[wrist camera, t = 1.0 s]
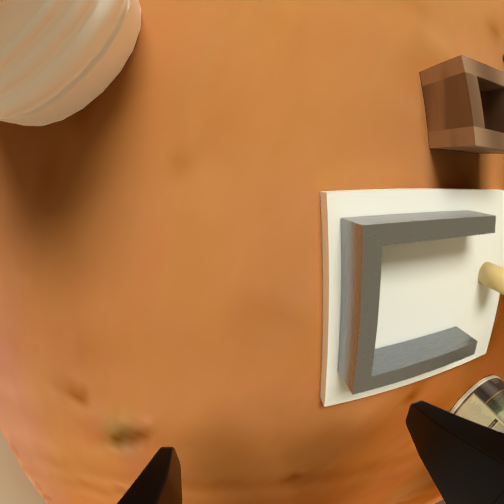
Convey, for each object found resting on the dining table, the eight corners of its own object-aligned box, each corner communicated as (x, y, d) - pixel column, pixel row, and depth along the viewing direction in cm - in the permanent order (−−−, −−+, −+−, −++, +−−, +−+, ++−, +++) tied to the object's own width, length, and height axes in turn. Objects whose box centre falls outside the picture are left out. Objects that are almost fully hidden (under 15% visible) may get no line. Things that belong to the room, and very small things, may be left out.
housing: (468, 210, 19) (495, 215, 16) (453, 338, 22) (474, 354, 19) (340, 217, 18) (362, 225, 15) (337, 370, 21) (352, 394, 18)
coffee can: (498, 358, 26) (574, 418, 12) (500, 401, 28) (557, 455, 14) (434, 417, 26) (501, 499, 12) (445, 450, 28) (495, 516, 15)
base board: (499, 189, 21) (533, 194, 16) (478, 348, 24) (503, 367, 20) (320, 191, 19) (346, 195, 15) (320, 397, 23) (336, 432, 19)
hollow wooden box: (470, 85, 18) (511, 76, 13) (479, 153, 20) (522, 153, 15) (419, 72, 18) (461, 55, 13) (429, 148, 19) (475, 145, 14)
